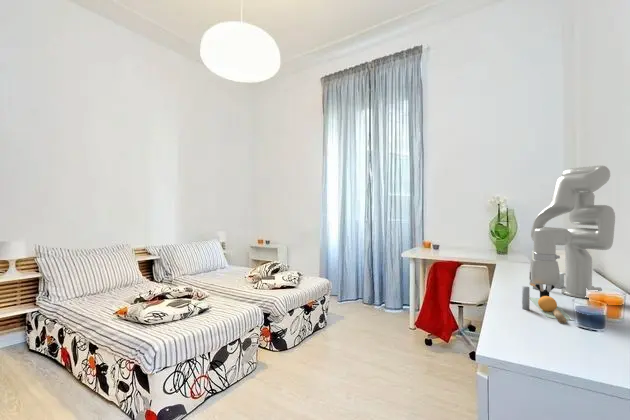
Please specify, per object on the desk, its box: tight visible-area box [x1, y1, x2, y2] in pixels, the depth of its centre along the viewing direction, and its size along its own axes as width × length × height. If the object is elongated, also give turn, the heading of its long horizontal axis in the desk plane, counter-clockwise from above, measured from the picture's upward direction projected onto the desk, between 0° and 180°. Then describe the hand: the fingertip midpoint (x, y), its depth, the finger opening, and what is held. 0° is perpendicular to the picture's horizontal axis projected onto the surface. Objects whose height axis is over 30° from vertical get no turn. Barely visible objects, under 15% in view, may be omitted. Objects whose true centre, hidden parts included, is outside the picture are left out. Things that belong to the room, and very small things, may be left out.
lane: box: [530, 297, 572, 321], centre depth 126 cm, size 28×8×1 cm, turn 157°
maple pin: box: [553, 309, 567, 324], centre depth 113 cm, size 2×2×9 cm
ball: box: [538, 295, 558, 312], centre depth 121 cm, size 6×6×6 cm
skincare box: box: [559, 271, 565, 289], centre depth 160 cm, size 6×6×7 cm
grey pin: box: [521, 285, 531, 311], centre depth 124 cm, size 2×2×9 cm
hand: (544, 300), depth 131 cm, fingers closed
